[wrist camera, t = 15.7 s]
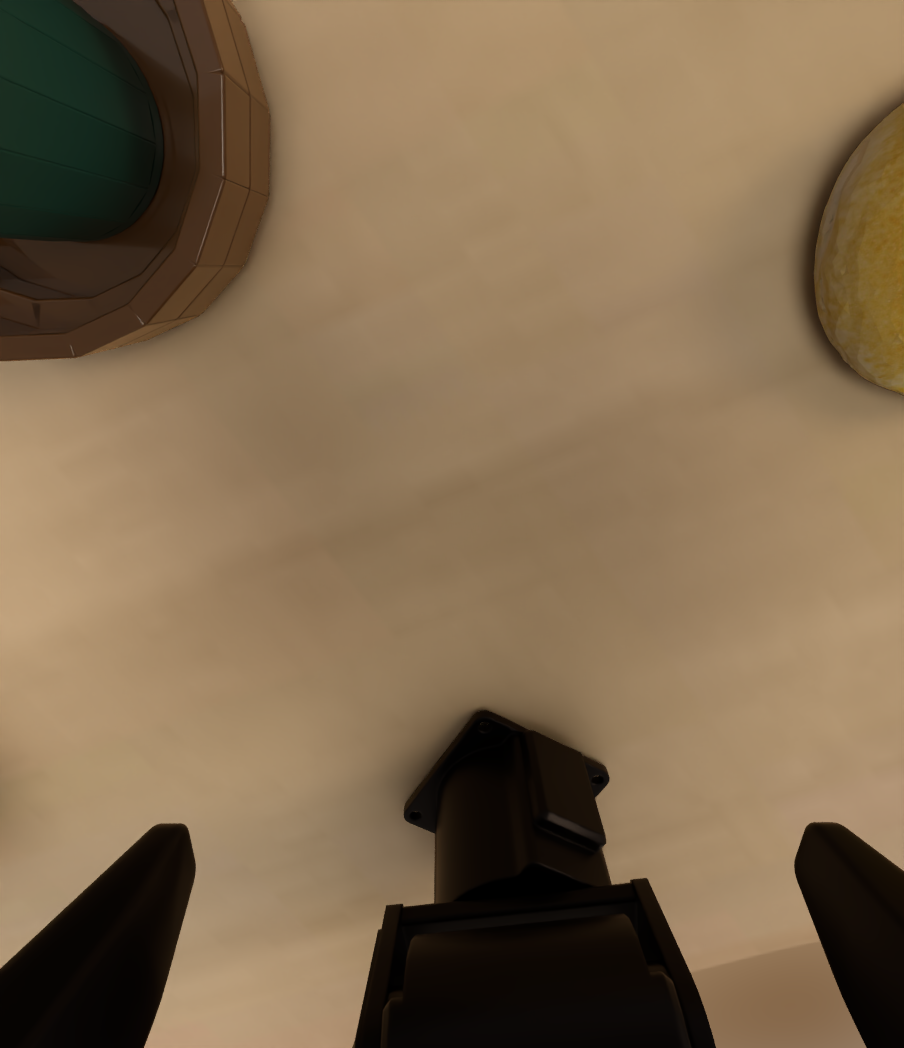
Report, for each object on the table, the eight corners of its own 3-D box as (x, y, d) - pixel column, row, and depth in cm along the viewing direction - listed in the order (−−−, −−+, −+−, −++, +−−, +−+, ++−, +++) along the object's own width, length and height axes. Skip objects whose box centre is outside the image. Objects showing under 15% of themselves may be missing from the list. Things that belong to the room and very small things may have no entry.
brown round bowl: (347, 249, 17) (319, 244, 14) (29, 397, 19) (-77, 430, 15) (126, -253, 13) (-1, -464, 10) (-255, -13, 15) (-500, -112, 11)
